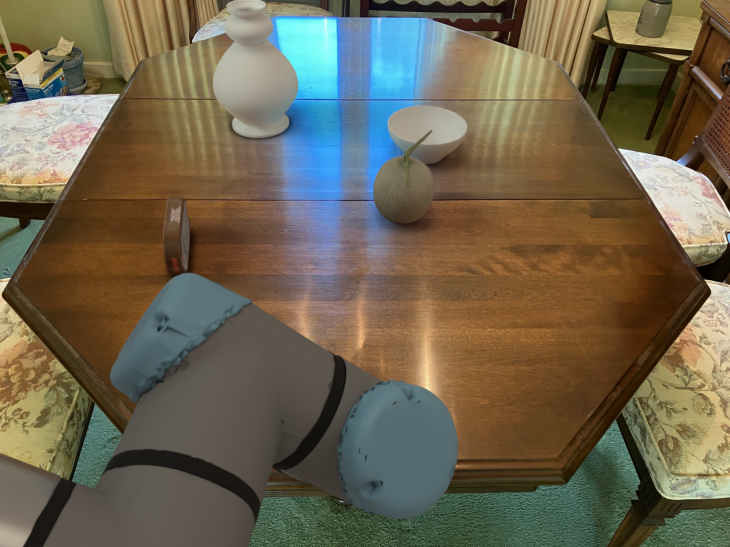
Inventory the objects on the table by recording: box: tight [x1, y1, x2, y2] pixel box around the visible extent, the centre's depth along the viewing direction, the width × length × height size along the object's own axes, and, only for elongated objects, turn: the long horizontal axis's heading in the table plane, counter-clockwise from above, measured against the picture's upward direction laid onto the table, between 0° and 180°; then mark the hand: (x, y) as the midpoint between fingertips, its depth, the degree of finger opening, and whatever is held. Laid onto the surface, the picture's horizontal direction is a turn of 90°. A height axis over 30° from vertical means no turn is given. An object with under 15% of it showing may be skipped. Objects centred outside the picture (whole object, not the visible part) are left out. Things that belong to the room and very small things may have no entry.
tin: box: [162, 196, 191, 277], centre depth 88 cm, size 15×3×8 cm, turn 10°
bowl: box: [387, 105, 469, 165], centre depth 112 cm, size 16×16×7 cm
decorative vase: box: [212, 0, 299, 139], centre depth 114 cm, size 18×18×25 cm
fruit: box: [372, 130, 435, 225], centre depth 94 cm, size 10×12×15 cm
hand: (225, 410), depth 64 cm, fingers closed
